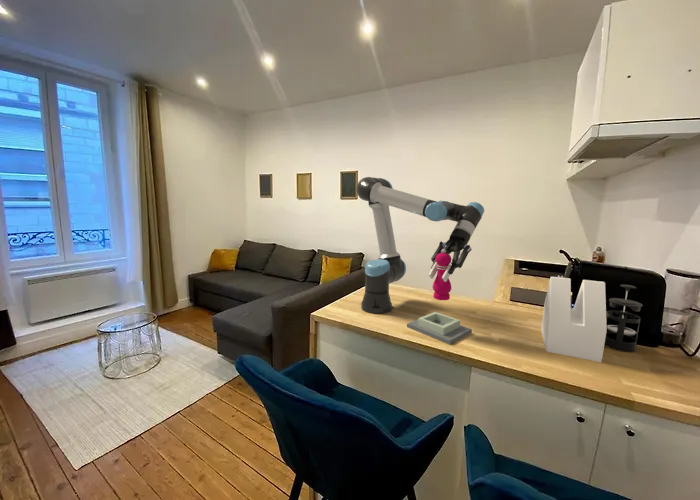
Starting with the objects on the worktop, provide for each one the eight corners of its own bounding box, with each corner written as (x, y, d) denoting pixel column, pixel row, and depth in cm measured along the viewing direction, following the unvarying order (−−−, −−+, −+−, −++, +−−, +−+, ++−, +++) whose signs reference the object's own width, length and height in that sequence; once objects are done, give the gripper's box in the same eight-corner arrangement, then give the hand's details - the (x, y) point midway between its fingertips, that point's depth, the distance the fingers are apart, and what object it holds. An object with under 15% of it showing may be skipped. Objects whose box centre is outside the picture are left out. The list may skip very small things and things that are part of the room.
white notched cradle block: (601, 362, 99) (612, 289, 95) (546, 351, 106) (554, 283, 102) (588, 339, 116) (597, 276, 112) (541, 331, 123) (548, 271, 119)
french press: (635, 355, 103) (646, 291, 99) (600, 346, 110) (609, 285, 106) (636, 344, 111) (646, 284, 108) (603, 336, 118) (612, 279, 114)
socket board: (406, 326, 125) (407, 316, 125) (429, 317, 136) (430, 308, 135) (449, 344, 110) (450, 332, 110) (471, 332, 120) (472, 322, 120)
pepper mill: (429, 295, 124) (431, 247, 121) (446, 295, 124) (448, 247, 121) (436, 301, 117) (438, 250, 114) (453, 300, 117) (456, 250, 114)
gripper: (486, 241, 120) (462, 288, 112) (445, 237, 134) (421, 279, 126) (480, 229, 116) (455, 277, 108) (439, 226, 129) (414, 268, 122)
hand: (437, 278), depth 117 cm, fingers closed on pepper mill, 5 cm apart
